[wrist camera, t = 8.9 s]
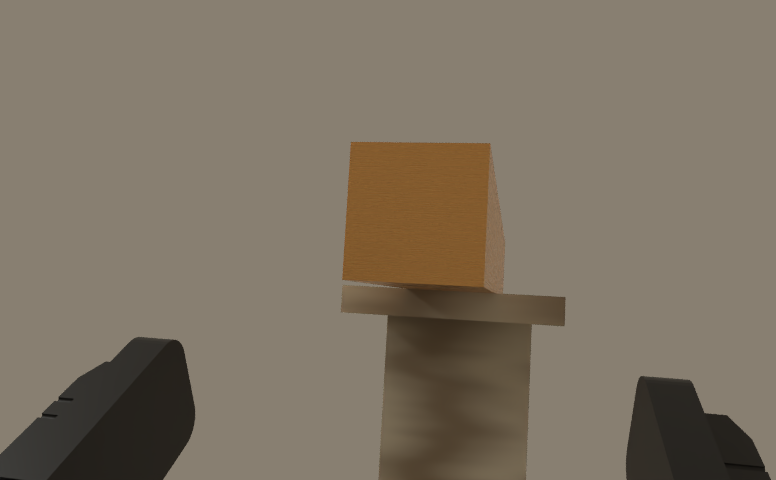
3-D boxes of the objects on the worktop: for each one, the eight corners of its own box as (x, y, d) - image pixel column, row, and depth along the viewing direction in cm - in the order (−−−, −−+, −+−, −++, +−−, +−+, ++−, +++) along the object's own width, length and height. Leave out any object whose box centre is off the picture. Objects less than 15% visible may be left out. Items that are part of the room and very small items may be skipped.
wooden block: (342, 279, 15) (351, 141, 15) (447, 294, 38) (450, 240, 39) (483, 287, 14) (489, 143, 14) (502, 297, 38) (504, 242, 38)
